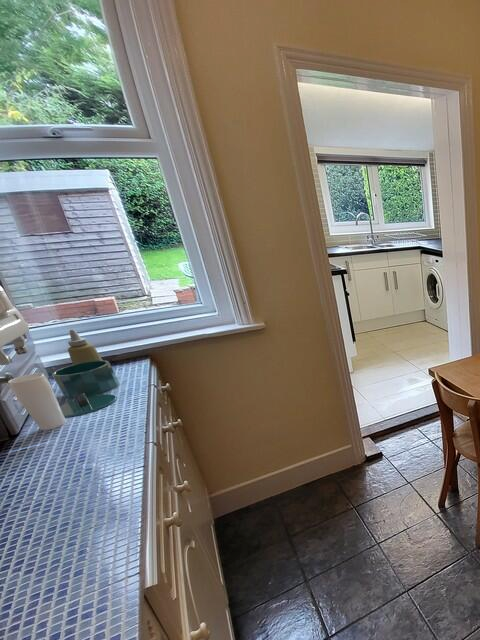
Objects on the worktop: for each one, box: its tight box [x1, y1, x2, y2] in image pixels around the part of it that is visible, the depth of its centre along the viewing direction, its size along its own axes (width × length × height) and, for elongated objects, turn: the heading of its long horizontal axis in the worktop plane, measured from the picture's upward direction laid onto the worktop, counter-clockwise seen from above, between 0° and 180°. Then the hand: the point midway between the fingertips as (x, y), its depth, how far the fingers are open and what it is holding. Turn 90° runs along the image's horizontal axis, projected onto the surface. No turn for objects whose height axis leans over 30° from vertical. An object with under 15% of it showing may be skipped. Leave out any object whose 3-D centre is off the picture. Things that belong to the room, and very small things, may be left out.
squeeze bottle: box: [67, 329, 103, 365], centre depth 144 cm, size 8×8×18 cm
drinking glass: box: [7, 372, 68, 431], centre depth 111 cm, size 7×7×15 cm
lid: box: [59, 393, 117, 419], centre depth 124 cm, size 14×14×5 cm
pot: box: [51, 359, 120, 400], centre depth 135 cm, size 13×13×8 cm
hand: (15, 358), depth 106 cm, fingers open, 8 cm apart
